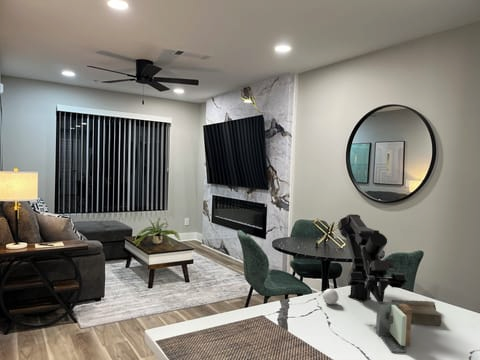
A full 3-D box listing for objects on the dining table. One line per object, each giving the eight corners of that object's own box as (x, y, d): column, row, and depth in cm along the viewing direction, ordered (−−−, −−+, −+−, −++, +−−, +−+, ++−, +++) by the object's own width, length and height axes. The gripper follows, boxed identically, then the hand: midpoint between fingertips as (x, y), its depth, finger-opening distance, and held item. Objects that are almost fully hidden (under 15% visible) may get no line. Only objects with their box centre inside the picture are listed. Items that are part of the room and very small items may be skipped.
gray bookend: (375, 332, 111) (377, 301, 111) (401, 333, 111) (403, 302, 111) (390, 352, 100) (392, 317, 99) (419, 353, 99) (421, 318, 99)
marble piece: (434, 311, 131) (434, 299, 131) (452, 329, 116) (453, 316, 116) (387, 307, 133) (387, 296, 133) (399, 324, 119) (400, 312, 118)
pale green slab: (387, 331, 108) (388, 304, 108) (393, 332, 108) (395, 305, 108) (398, 345, 101) (399, 316, 100) (405, 345, 100) (406, 316, 100)
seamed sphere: (319, 302, 135) (319, 287, 134) (330, 300, 137) (331, 285, 137) (333, 310, 128) (333, 294, 128) (345, 307, 130) (345, 292, 130)
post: (397, 339, 107) (399, 304, 107) (404, 339, 107) (406, 304, 107) (403, 346, 103) (405, 309, 103) (410, 346, 103) (412, 310, 103)
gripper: (351, 248, 122) (359, 292, 112) (406, 250, 122) (419, 294, 112) (343, 264, 131) (350, 306, 120) (395, 266, 130) (406, 308, 120)
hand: (381, 303), depth 118 cm, fingers closed
